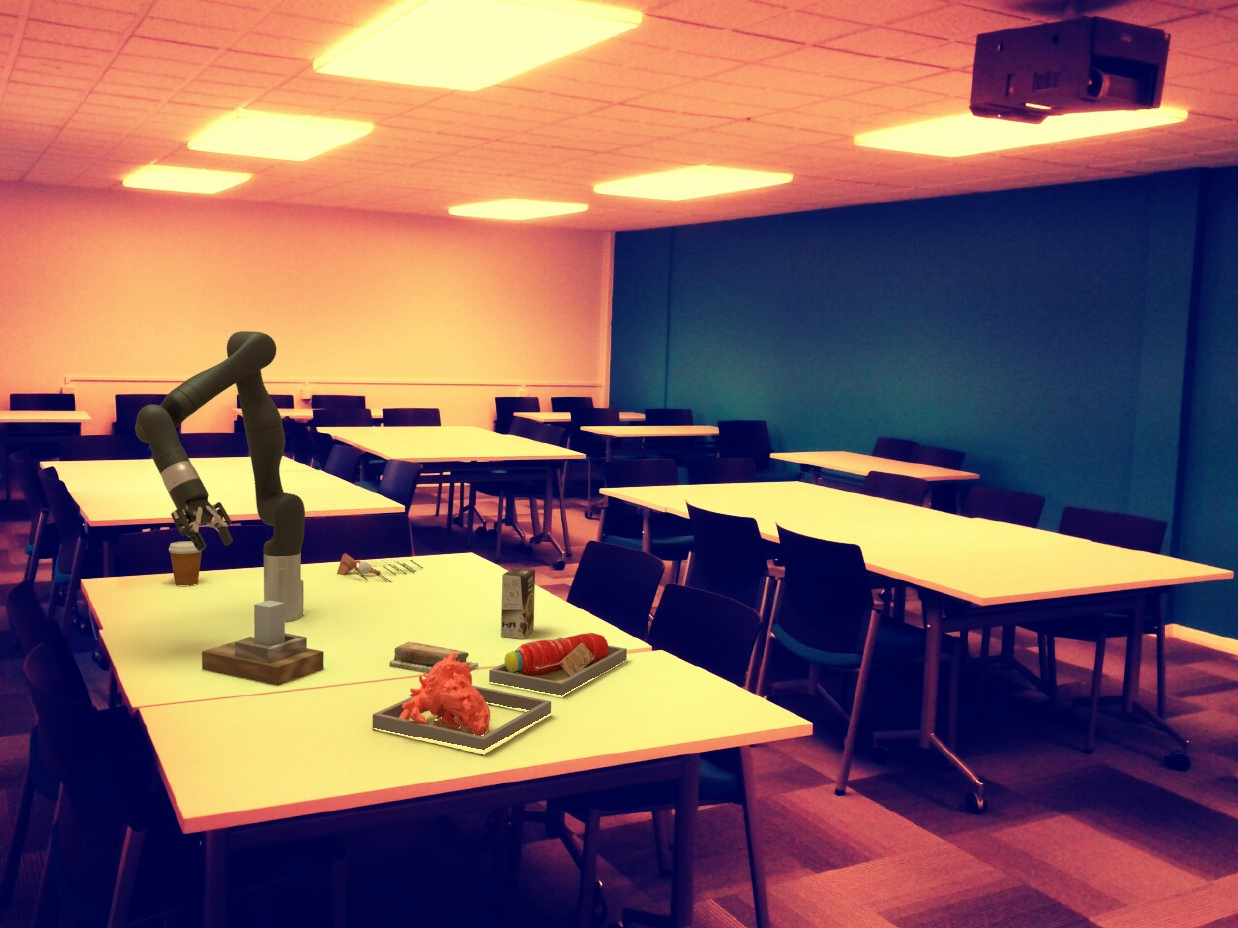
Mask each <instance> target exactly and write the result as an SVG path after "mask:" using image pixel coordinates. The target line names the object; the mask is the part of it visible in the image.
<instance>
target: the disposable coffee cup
mask: <svg viewBox="0 0 1238 928" xmlns="http://www.w3.org/2000/svg"><path fill="white" fill-rule="evenodd" d="M168 551H169V553H170V559H171V566H172V572H173V578H174V580H173V581H174V585H175V584H176V585H175V586H177V585H185V586H184V587H187V586H186V585H192V586H195V585H194V584H196V585H198V584H199V577H200V569H201V561H202V551H203V550H202V551H198V550H197V549H196V548H195V546H194V544H193V542H192V540H190V541H187V540H186V541H176V542H172V543H170V545H169V548H168ZM197 583H198V584H197Z"/></svg>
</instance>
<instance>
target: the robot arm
mask: <svg viewBox="0 0 1238 928" xmlns="http://www.w3.org/2000/svg"><path fill="white" fill-rule="evenodd" d="M226 353H227V354H226V355H227V358H226V359H224V360H223V361H221V362H220V363H217V364H216V365H214V366H212V367H209V368H208V369H205V370H203V371H201V372H199V373H197V374H195V375H193V376H192V377H189V378H188V379H186V380H185V381H183V382H182V383H181V384H179V385H178V386H177V387H175V388H173V390H171V391H170V392H168V393H167V395H166V396H165V397H164V399H163V401H162V402H161V403H160V404H159V405H158V404H148V405H145V406H144V407H142V408H141V409H140V410H139V412H138V414H137V415H136V422H135V427H134V429H135V431H134V432H135V434H136V437H137V438H138V439H139V441H141V442H142V443H145V444H149V446H150V449H151V457H152V460H153V463H154V465H155V467H156V469H157V471H158V472H159V474H160V476H161V480H162V482H163V485H164V487H165V489H166V490H167V493H168V494H169V496H170V498H171V500H172V503H173V505H174V506H175V508H176V509H175V510H174V511H172V512H171V513H170V516H171V518H172V520H173V522H174V524H175V527H176V529H177V531H178V533H179V534H180V536H182V537H185V536H186V537H188V538H190V541H192V542H193V544H194V546H195V548H196V549H197V550H198V551H203V550H205V549H206V548H207V544H206V542H205V539H204V538H203V536H202V534H201V532H199V530H200V529H199V527H200V526H207V527H209V528H213V529H214V530H216V531H217V534H218V536H219V538H220V539H221V541H222V544H223V545H224V546H225V547H227V546H229V545H231V544H233V542H234V540H233V537H232V535H231V533H230V531H229V528H228V527H229V526H230V525H232V523H233V522H232V520H231V518H230V516H229V514H228V513H227V511H226V508H225V507H224V506H223V504H222V503H221V502H220V501H218V502H216V503H214V504H211V503H210V502H209V495H210V494H209V492H208V490H207V488H206V486H205V484H204V483H203V480H202V478H201V477H200V475H199V473H198V472H197V470H196V467H195V466H194V465H193V464H192V462H191V460H190V459H189V456H188V455H187V452H186V451H185V449H184V447H183V446H182V444H181V442H180V439H179V438H180V437H179V435H178V432H177V430H176V429H177V428H178V427H180V425H182V423H183V422H184V421H185V420H186V419H188V417H190V416H192V415H193V414H195V412H197V411H198V410H200V409H201V408H203V406H205V405H206V404H207V403H209V402H210V401H211V400H214V398H215V397H217V396H218V395H220V394H221V393H223V392H224V391H225V390H227V389H229V388H230V387H232V386H233V385H235V386H236V390H237V396H238V400H239V403H240V409H241V410H240V411H241V414H242V418H243V426H244V430H245V431H244V432H245V436H246V441H247V446H248V450H249V456H250V461H251V468H252V472H253V479H254V491H255V504H256V509H257V514H258V518H259V519H260V520H261V522H263V524H265V525H267V526H271V527H273V532H272V533H273V535H272V538H271V539H270V540H267V541H265V543H264V544H263V602H266V601H275V602H280V603H285V622H291V621H295V620H298V619H300V618H302V617H303V616H304V580H303V579H302V578H301V577H302V573H301V572H302V570H301V569H302V568H301V566H302V564H301V561H302V559H301V558H302V557H301V555H302V553H301V551H302V545H303V543H304V539H305V526H306V525H305V524H306V523H305V521H306V510H305V505H304V501H303V499H302V498H301V497H300V496H299V495H297V494H295V493H289V492H285V491H284V489H283V485H282V480H281V475H280V468H281V460H282V458H283V454H284V453H285V452H284V451H285V446H286V437H285V431H284V426H283V425H284V424H283V419H282V416H281V414H280V411H279V409H278V407H277V406H276V404H275V402H274V400H273V398H272V397H271V396H270V393H269V392H268V390H267V388H266V386H265V383H264V380H263V376H262V369H265V368H266V367H268V366H270V365H271V363H273V361H274V359H275V358H276V355H277V344H276V342H275V340H274V339H273V337H271V336H270V335H269V334H268V333H264V332H260V331H245V330H241V331H236V332H234V333H232V335H230V337H229V338H228V340H227V343H226ZM213 518H214V519H213ZM223 519H224V520H225V521H224V520H223Z"/></svg>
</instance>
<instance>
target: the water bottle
mask: <svg viewBox="0 0 1238 928" xmlns="http://www.w3.org/2000/svg"><path fill="white" fill-rule="evenodd" d="M561 638H562V639H558V638H555V639H539V640H534V641H529V642H526V643H522V644H521V645H520V646H518V647H517V648H516V649H514V650H511V651H510V652H507V653H506V654H505V656H504V663H505V666H506V669H507V671H508V672H510V673H513V672H518V673H519V674H520V675H526V676H531V677H539V676H545V675H550V674H553V673H556V672H562V671H563V672H564V673H565V674H566V675H567V678H569V677H570V676H572V675H574V674H576V673H578V672H580V671H581V670H583V669H585V668H587V667H589V666H591V665H593V664H594V663H596V662H598V661H600V660H602V659H604V658H605V657H607V656H608V654H609V646H610V645H609V643H608V640H607V639H606V637H605V636H603V635H601V634H597V633H594V632H589V633H588V632H587V633H586V632H585V633H581V634H577V635H572V636H568V637H561ZM518 673H517V674H518Z"/></svg>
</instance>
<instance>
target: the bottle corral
mask: <svg viewBox="0 0 1238 928" xmlns="http://www.w3.org/2000/svg"><path fill="white" fill-rule="evenodd" d="M562 638H563V637H558V638H557V639H562ZM608 646H609V654H608V656H607V657H605V658H604V659H602V660H600V661H598V662H596V663H594V664H593V665H591V666H589V667H587V668H583V669H582V670H581V671H580V672H578V673H576V674H574V675H572V676H570V677H567V678H564V679H563V680H561V681H557V680H553V679H552V680H550V679H546V678H540V677H537V676H526V675H522V674H520V673H519V674H518V673H516V672H513V673H510V672H508V671H507V669H506V666H505V662H503V663H502V664H500V665H498V666H495V667H494V668H491V669H489V675H488V681H489V682H493V683H498V684H504V685H508V686H514V687H519V688H524V689H530V690H534V691H539V692H545V693H550V694H556V695H561V696H562V695H564V694H565V693H567V692H569V691H571V690H572V689H574V688H576V687H578V686H580V685H582V684H583V683H585V682H587V681H588V680H590V679H592V678H595V677H597V676H599V675H600V674H602V673H604V672H606V671H608V670H609V669H611V668H613V667H615V666H616V665H618V664H620V663H622V662H623V661H625V660H626V661H627V659H628V658H627V651H628V649H627V648H624V647H619V646H613V645H608ZM622 664H623V663H622ZM620 665H621V664H620ZM615 668H616V667H615ZM613 669H614V668H613ZM608 672H609V671H608ZM515 673H516V674H515ZM606 673H607V672H606ZM599 677H600V676H599ZM489 682H488V683H489Z"/></svg>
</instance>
